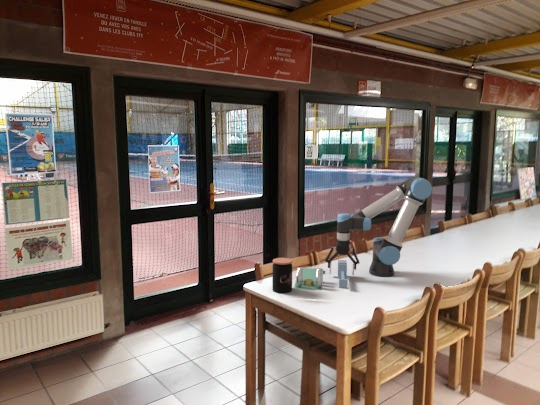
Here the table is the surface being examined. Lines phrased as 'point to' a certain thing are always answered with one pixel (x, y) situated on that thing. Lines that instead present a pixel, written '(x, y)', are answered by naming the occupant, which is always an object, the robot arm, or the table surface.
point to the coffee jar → (282, 275)
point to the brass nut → (308, 282)
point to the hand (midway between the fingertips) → (341, 274)
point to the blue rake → (342, 273)
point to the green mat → (309, 274)
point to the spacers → (300, 277)
